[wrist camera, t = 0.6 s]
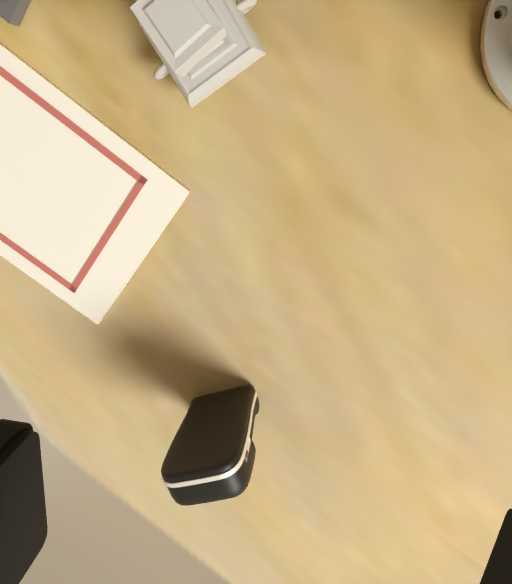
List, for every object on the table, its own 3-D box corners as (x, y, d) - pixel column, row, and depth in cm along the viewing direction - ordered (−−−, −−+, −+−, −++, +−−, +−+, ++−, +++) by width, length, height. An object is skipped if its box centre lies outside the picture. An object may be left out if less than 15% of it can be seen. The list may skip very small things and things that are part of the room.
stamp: (188, 118, 36) (153, 116, 29) (138, 40, 35) (87, 16, 27) (283, 47, 34) (273, 24, 26) (234, -40, 32) (208, -92, 24)
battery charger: (203, 428, 47) (170, 518, 36) (190, 397, 45) (151, 480, 35) (268, 414, 45) (252, 504, 34) (255, 382, 44) (236, 464, 33)
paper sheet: (-36, 15, 36) (-39, 14, 35) (190, 191, 38) (189, 192, 38) (-102, 179, 41) (-106, 180, 41) (99, 323, 44) (97, 325, 43)
